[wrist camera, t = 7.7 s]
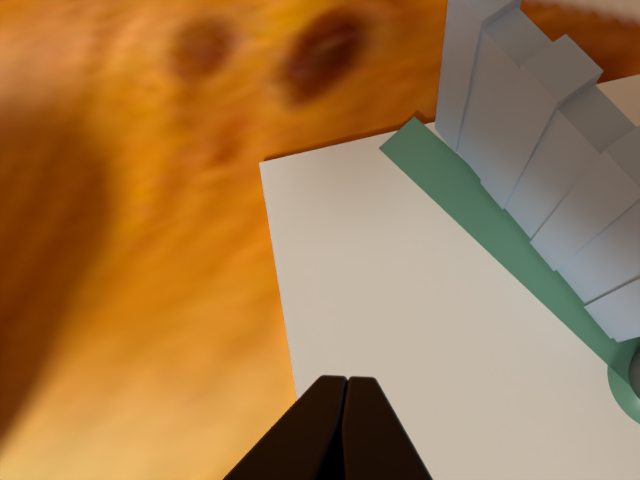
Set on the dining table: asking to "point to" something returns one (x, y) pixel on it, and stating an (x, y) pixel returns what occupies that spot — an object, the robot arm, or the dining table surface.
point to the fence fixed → (635, 374)
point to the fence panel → (547, 150)
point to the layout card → (448, 310)
